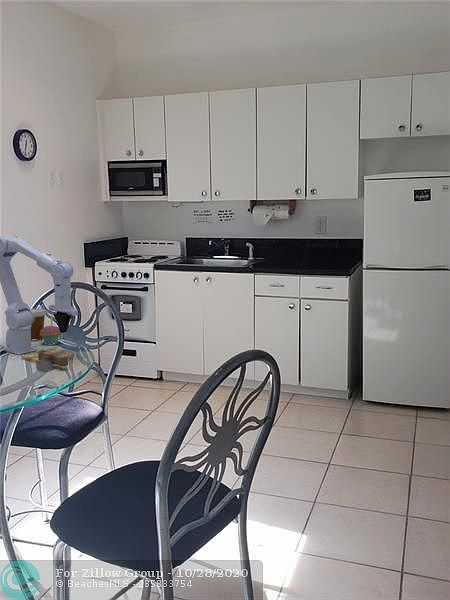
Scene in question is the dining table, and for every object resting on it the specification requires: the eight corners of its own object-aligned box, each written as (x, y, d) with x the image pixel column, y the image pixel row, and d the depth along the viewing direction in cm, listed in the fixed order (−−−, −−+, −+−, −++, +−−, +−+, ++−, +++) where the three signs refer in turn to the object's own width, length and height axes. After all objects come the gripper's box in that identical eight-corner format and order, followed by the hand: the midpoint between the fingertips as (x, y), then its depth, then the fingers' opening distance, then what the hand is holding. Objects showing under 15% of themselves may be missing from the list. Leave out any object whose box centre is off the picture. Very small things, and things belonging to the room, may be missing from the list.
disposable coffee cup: (39, 342, 248) (38, 313, 246) (18, 340, 250) (17, 311, 248) (50, 337, 257) (49, 309, 255) (29, 335, 259) (29, 307, 257)
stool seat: (21, 358, 224) (21, 355, 224) (53, 351, 235) (53, 348, 235) (41, 365, 217) (41, 361, 216) (73, 357, 228) (73, 354, 227)
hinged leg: (36, 359, 218) (36, 349, 218) (43, 357, 220) (43, 348, 220) (61, 366, 210) (61, 356, 209) (68, 365, 212) (68, 355, 212)
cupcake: (44, 340, 251) (43, 311, 249) (64, 341, 251) (63, 312, 249) (37, 345, 243) (36, 316, 241) (58, 346, 243) (57, 316, 240)
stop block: (36, 368, 212) (36, 360, 212) (45, 366, 215) (44, 358, 214) (45, 371, 209) (44, 363, 209) (53, 369, 212) (53, 361, 211)
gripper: (84, 297, 223) (84, 333, 225) (59, 292, 231) (60, 327, 234) (68, 299, 217) (69, 336, 219) (43, 294, 226) (44, 330, 228)
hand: (63, 332), depth 226 cm, fingers closed
